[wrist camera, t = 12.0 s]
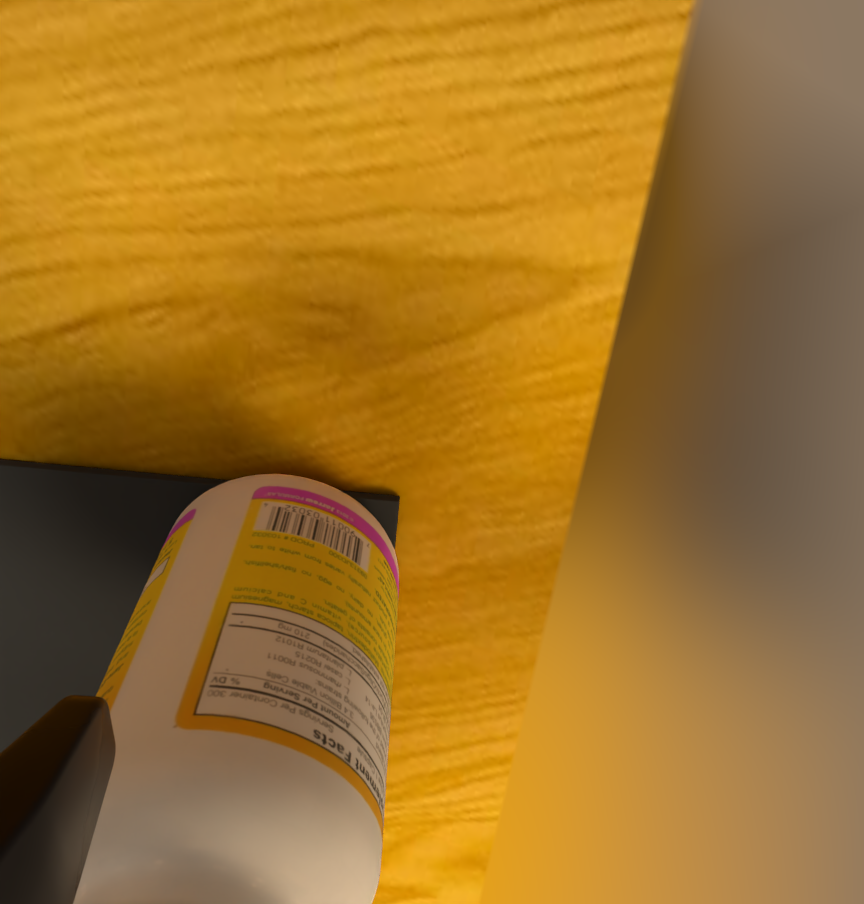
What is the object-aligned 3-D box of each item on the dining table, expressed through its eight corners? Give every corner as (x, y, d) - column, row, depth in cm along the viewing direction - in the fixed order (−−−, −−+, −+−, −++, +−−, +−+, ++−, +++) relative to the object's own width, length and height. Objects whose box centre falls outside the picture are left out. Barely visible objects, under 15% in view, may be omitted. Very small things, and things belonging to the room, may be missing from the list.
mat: (400, 495, 23) (399, 501, 23) (365, 862, 33) (364, 869, 32) (-262, 434, 22) (-271, 440, 22) (-97, 827, 32) (-102, 834, 32)
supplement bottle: (228, 657, 26) (69, 1175, 15) (131, 493, 23) (-161, 1009, 12) (431, 617, 25) (415, 1145, 14) (360, 437, 22) (269, 952, 11)
